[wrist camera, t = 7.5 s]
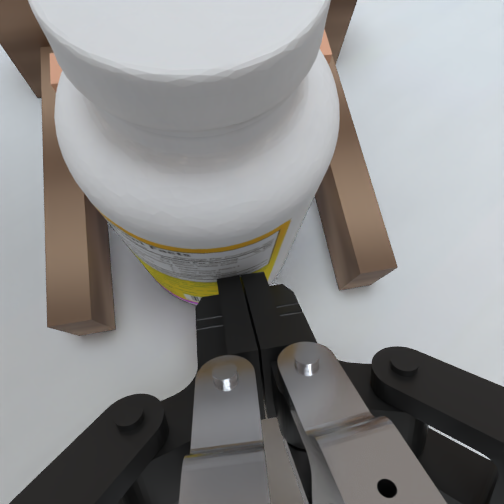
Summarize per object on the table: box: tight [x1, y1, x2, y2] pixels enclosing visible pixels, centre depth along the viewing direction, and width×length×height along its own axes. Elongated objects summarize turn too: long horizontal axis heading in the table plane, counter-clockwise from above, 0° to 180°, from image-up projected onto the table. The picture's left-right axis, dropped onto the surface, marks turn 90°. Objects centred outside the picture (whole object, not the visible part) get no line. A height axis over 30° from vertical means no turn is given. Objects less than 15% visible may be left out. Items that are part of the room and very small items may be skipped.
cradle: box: [0, 0, 397, 336], centre depth 14 cm, size 16×16×12 cm
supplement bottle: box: [28, 0, 340, 305], centre depth 12 cm, size 7×7×13 cm
